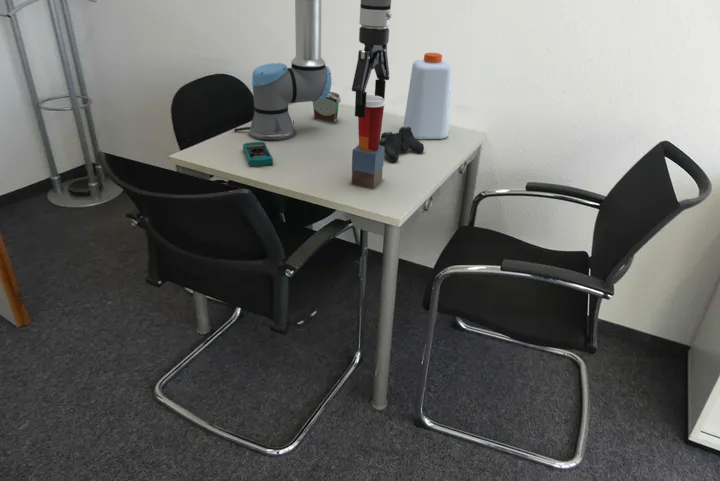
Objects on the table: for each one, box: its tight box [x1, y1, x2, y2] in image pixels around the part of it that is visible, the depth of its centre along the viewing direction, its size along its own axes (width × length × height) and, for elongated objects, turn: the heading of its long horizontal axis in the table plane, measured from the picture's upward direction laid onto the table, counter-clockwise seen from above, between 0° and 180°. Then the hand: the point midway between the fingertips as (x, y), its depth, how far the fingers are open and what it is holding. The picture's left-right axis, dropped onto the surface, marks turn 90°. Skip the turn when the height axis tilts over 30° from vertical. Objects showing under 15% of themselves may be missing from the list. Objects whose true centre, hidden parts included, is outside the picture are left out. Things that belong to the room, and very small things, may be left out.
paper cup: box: [357, 94, 386, 151], centre depth 144 cm, size 8×8×14 cm
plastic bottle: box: [402, 52, 453, 140], centre depth 186 cm, size 15×15×28 cm
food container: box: [312, 91, 342, 125], centre depth 201 cm, size 12×6×10 cm, turn 58°
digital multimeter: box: [242, 141, 274, 167], centre depth 166 cm, size 7×15×3 cm, turn 18°
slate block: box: [351, 144, 385, 174], centre depth 149 cm, size 7×7×6 cm
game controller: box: [379, 126, 425, 163], centre depth 172 cm, size 16×7×10 cm, turn 134°
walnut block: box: [351, 166, 384, 190], centre depth 152 cm, size 7×7×4 cm
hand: (369, 110), depth 143 cm, fingers open, 13 cm apart
